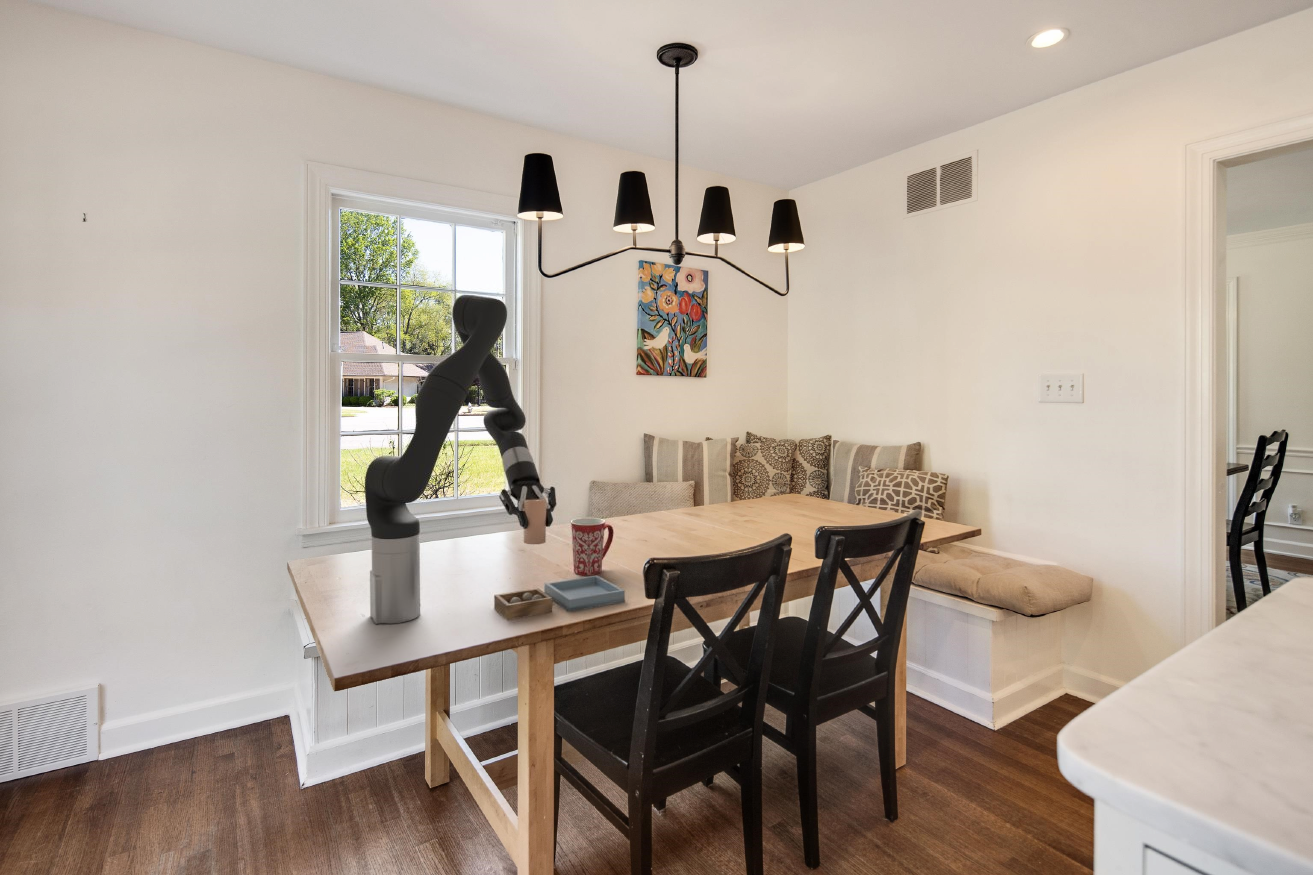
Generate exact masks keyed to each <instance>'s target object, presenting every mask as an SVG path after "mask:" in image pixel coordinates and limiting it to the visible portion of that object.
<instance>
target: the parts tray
mask: <svg viewBox="0 0 1313 875" xmlns="http://www.w3.org/2000/svg"><path fill="white" fill-rule="evenodd" d="M493 597H494V598H493V599H494V601H493V602H494V604H493V605H494V606H493V607H494V610H495V611H497V613H499V614H500V616H502V617H503V618H505V619H506V621H508V620H514V619H519V618H524V617H526V618H527V617H530V616H535V615H542V614H546V613H552V612H553V600H552V598H551V597H550V596H549V595H547V594H546V593H545V591H543V590H541V589H540V588H538V587H537V588H536V587H535V588H530V589H523V590H518V591H510V592H505V593H504V592H503V593H497V594H494V596H493Z"/></svg>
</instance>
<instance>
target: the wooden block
mask: <svg viewBox="0 0 1313 875" xmlns="http://www.w3.org/2000/svg"><path fill="white" fill-rule="evenodd" d="M546 502H547V498H545V499H540V498H531V499H525V500H524V510H523V511H525V513H526V516H527V519H528V523H529V525H528V527H527V529H523V544H526V545H541V544H546V542H547V541H546V540H547V539H546V538H547V536H546V535H547V527H546Z"/></svg>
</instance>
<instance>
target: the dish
mask: <svg viewBox="0 0 1313 875" xmlns="http://www.w3.org/2000/svg"><path fill="white" fill-rule="evenodd" d="M625 591H626V590H625V589H623V588H621V587H619V586H618V585H616V584H614V583H612V582H610V581H609V580H607V579H605V578H603V577H601V576H599V575H598V574H596V575H588V576H584V577H577V578H570V579H564V580H559V581H552V582H544V593H546V594H547V595H549V596H550V597H551V598H552V602H553V601H554V602H555V603H556V604H557V605H559V606H560V607H562V608H563V609H564V610H567V612H576V611H581V610H586V609H591V608H598V607H604V606H610V605H614V604H620V603H625V601H626V600H625V595H626V592H625Z"/></svg>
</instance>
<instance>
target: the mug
mask: <svg viewBox="0 0 1313 875" xmlns="http://www.w3.org/2000/svg"><path fill="white" fill-rule="evenodd" d="M606 522H607V521H606V520H605V519H602V518H597V517H579V518H574V519H572V520H571V521H570V525H571V541H572V559H573V573H574V574H576V575H579V576H596V575H598V574H601V573H602V570H603V559H604V558H605V557H606V554H607V553H608V552H609V549H610V547H611V545H612V542H613V538H614V535H615V534H614V533H615V532H614V528H613V526H612V525H611V524H609V523H606ZM606 529H607V533H608V534H607V538H606V541H605V544H604V539H605V530H606Z"/></svg>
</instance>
